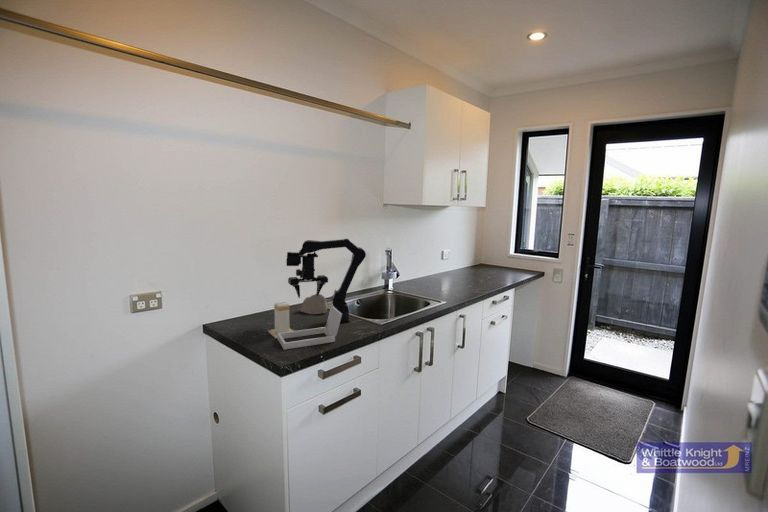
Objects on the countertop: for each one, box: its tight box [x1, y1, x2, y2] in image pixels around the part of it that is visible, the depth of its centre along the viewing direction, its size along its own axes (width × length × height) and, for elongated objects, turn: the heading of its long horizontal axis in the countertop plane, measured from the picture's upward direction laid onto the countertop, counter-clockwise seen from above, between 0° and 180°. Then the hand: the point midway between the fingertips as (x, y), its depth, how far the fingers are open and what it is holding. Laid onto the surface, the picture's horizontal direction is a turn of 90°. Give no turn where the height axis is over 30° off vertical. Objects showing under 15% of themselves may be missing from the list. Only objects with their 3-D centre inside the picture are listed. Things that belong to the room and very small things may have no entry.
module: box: [273, 301, 291, 333], centre depth 168 cm, size 5×5×13 cm
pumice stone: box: [299, 293, 329, 315], centre depth 200 cm, size 15×8×10 cm, turn 75°
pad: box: [267, 327, 295, 339], centre depth 169 cm, size 10×10×1 cm
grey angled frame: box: [276, 305, 342, 350], centre depth 161 cm, size 25×13×12 cm, turn 117°
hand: (308, 297), depth 182 cm, fingers open, 9 cm apart
